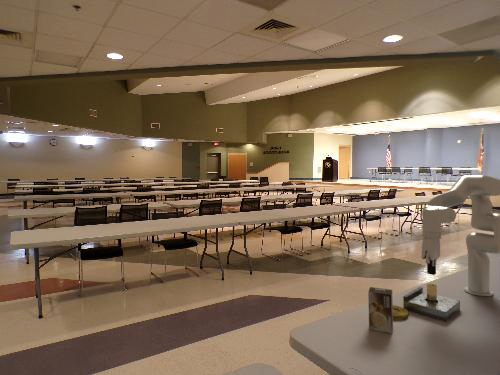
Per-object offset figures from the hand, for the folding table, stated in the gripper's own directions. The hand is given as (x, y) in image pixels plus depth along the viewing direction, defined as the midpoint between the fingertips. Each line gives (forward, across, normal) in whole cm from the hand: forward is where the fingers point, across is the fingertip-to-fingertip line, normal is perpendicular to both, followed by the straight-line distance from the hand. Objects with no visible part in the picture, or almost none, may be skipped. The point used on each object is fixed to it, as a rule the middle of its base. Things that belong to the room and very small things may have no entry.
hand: (431, 273), depth 154 cm
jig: (+17, 0, 0) cm, 17 cm away
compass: (+18, +17, -10) cm, 26 cm away
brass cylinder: (+15, 0, 0) cm, 15 cm away
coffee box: (+17, +34, -7) cm, 39 cm away
